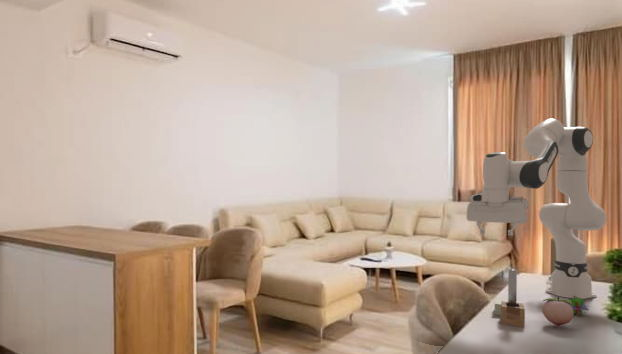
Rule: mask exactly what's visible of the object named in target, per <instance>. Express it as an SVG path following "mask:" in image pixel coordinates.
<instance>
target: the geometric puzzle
mask: <svg viewBox="0 0 622 354" xmlns="http://www.w3.org/2000/svg"><path fill="white" fill-rule="evenodd" d="M568 300H569V301H570V302H571V303H573V304H574V306H573V305H572V304H570V305H571V306H572V308H573V312H574V314H573V315H575V317H576V316H577V317H578V318H579V317H580V316H582V314H583V311H585V313H586V312H588V311H589V308H588V306H587V305H586V301H585V300H586V299H581V298H578V297H576V296H574V297H573V298H572V297H571V298H568Z"/></svg>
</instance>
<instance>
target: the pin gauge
mask: <svg viewBox="0 0 622 354" xmlns="http://www.w3.org/2000/svg"><path fill="white" fill-rule="evenodd" d="M517 275H518V270H517V269H513V268H509V269H508V276H507V277H508V278H507V279H508V283H507V284H508V285H507V287H508V288H507V290H508V291H507V294H508V295H507V300H508V306H513V307H516V303H517V298H518V297H517V295H518V294H517V285H518V283H517V282H518V280H517V279H518V278H517V277H518V276H517Z"/></svg>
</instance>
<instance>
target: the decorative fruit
mask: <svg viewBox="0 0 622 354" xmlns="http://www.w3.org/2000/svg"><path fill="white" fill-rule="evenodd" d="M570 301H571V300H568V299H567V300H566V299H560V296H558V295H557V298H551V297H549V298H544V299H543V300H542V302H544V303H543V305H542V314H543V315H544V318H545V319H546V320H547V321H548V322H549V323H552V324H553V325H555V326H556V327H560V326H563V325H564V326H565V325H567V324H569V323H570V322H572V320H573V318H574V315H575V314H574V312H573V308H572V306H571V305H570V304H572V305H573V306H574V304H573V303H571V302H570Z"/></svg>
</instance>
